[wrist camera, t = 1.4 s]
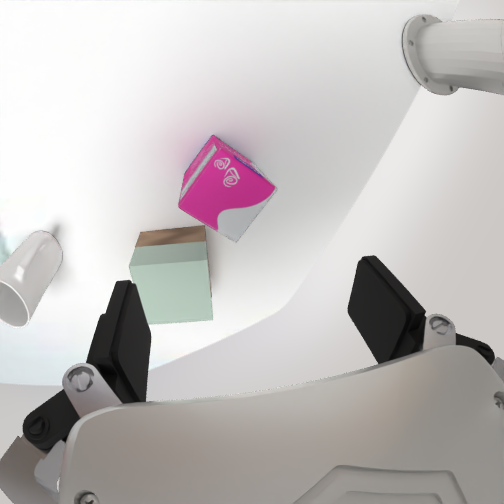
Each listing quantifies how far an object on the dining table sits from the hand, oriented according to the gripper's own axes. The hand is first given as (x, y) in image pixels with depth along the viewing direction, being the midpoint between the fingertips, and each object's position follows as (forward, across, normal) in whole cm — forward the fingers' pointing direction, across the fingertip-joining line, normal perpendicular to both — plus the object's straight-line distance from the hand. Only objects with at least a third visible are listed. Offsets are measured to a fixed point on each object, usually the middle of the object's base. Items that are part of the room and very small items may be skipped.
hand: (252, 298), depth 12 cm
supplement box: (+23, 0, 0) cm, 23 cm away
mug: (+23, +24, +7) cm, 34 cm away
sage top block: (+19, +6, +11) cm, 23 cm away
